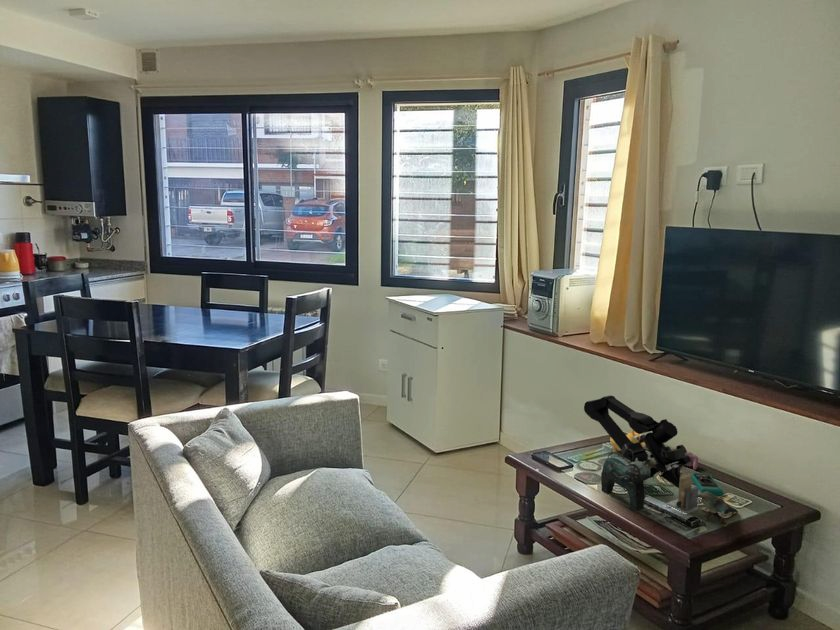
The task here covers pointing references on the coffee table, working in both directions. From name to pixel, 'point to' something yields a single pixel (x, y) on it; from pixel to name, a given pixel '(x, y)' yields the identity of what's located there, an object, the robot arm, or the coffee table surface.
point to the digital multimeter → (706, 483)
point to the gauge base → (687, 501)
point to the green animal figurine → (626, 478)
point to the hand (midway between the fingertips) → (681, 488)
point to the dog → (633, 438)
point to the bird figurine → (715, 506)
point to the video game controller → (694, 460)
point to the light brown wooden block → (684, 489)
